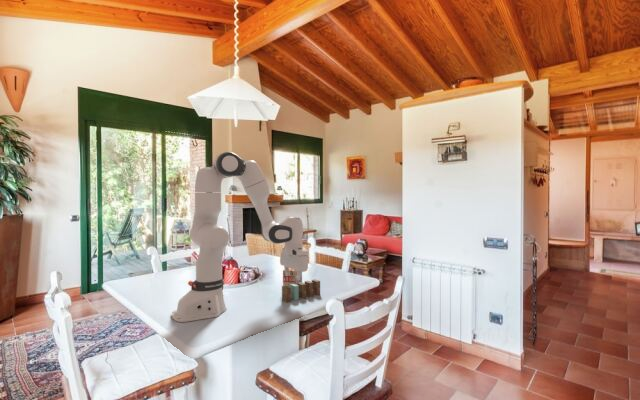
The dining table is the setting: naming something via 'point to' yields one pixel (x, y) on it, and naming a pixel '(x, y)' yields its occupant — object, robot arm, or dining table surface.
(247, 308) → the dining table surface
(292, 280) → the printed cardboard box
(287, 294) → the domino
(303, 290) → the domino
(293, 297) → the teal domino
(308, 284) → the domino
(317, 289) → the domino
